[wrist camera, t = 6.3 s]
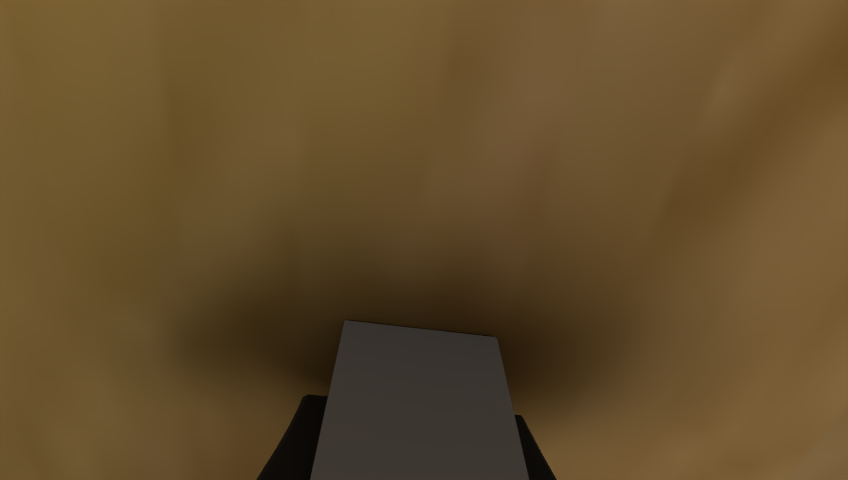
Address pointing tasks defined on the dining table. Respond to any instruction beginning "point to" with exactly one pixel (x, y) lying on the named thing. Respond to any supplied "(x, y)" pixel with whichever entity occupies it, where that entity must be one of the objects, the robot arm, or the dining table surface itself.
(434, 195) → the dining table surface
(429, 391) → the block
